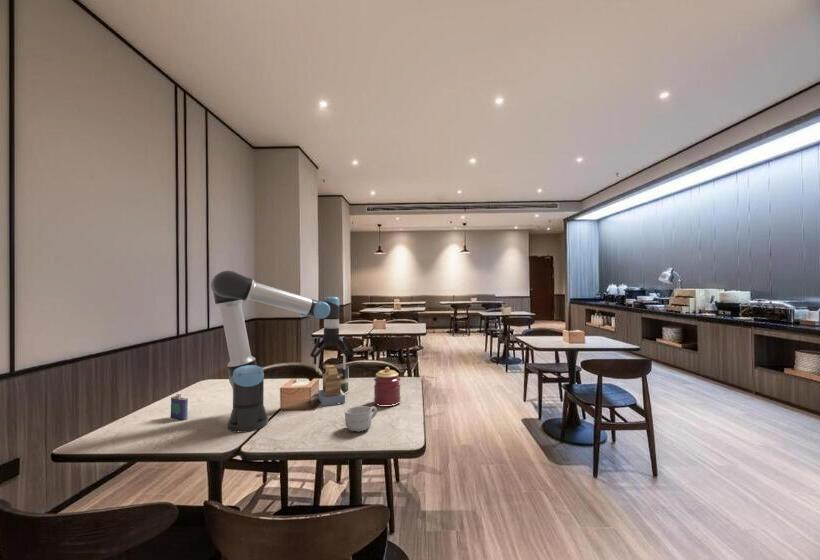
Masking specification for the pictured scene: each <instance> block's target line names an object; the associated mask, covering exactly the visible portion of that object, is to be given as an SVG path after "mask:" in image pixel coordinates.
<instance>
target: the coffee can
mask: <svg viewBox="0 0 820 560" xmlns="http://www.w3.org/2000/svg"><path fill="white" fill-rule="evenodd" d="M333 365H334V366H335V368H336V369H337V374H338V375H339V377H340V389H341V390H342V392H343V393H345V392H347V391H348V390H349V388H350V387H349V385H350V384H349V383H350V382H349V381H350V378H349V376H350V375H349V374H350V372H349V371H350V369H349V368H350V366H349V365H348V364H346V369H343V363H339V364H333ZM349 391H350V390H349Z"/></svg>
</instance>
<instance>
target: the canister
mask: <svg viewBox="0 0 820 560" xmlns="http://www.w3.org/2000/svg"><path fill="white" fill-rule="evenodd" d="M399 374H400V373H398V372H397V371H396V370H394V369H390V366H386V367H384V369H381V370H379V371H378V372H376V373H375V377H374V379H373V381H374V385H373V388H374V389H373V390H374V393H373V394H374V398H373V402H374V404H375V403H376V404H379V405H392V404H396V403H398V402H400V403H401V384H400V381H401V378H400V376H399ZM376 404H375V405H376Z"/></svg>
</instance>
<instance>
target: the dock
mask: <svg viewBox="0 0 820 560" xmlns="http://www.w3.org/2000/svg"><path fill="white" fill-rule="evenodd" d="M318 400H319V402H321V403H320V405H321V407H326V406H325V405H329V406H333V405H332V404H337V405H339V404H338V403H345V404H346V394H344V393H343V392H342V390H341V389H340V395H338V396H329V397H326V396H325V391H324V392H323V389H319V390H318Z"/></svg>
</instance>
